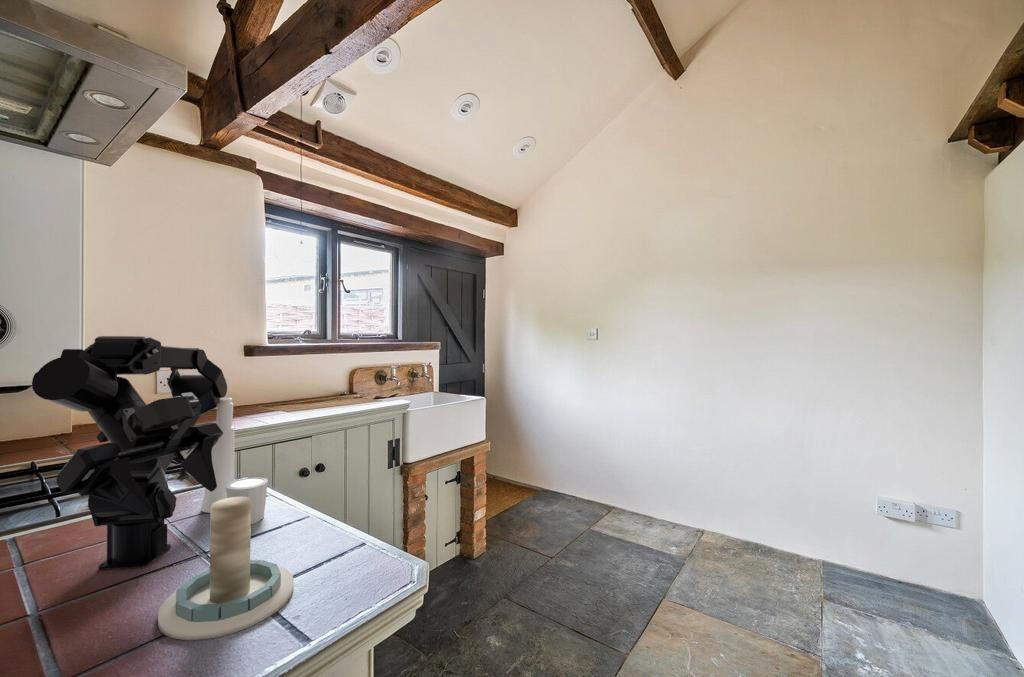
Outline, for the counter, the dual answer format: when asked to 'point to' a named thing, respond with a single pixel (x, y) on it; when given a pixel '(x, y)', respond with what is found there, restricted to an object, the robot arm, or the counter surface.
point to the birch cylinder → (230, 549)
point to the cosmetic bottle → (222, 455)
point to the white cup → (250, 494)
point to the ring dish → (227, 624)
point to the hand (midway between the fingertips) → (184, 500)
